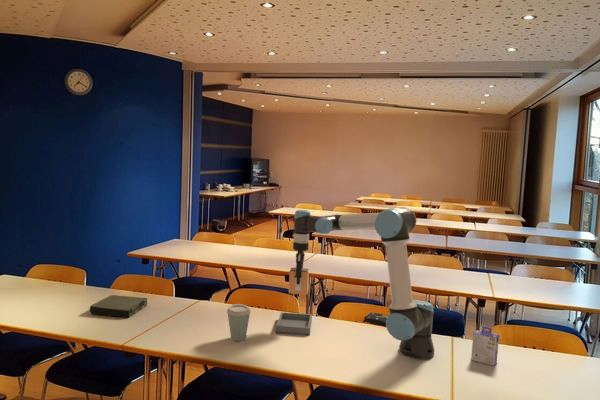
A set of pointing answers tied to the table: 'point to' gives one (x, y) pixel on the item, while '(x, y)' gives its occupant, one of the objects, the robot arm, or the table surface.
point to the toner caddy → (303, 281)
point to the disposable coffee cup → (238, 321)
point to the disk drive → (376, 318)
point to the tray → (294, 323)
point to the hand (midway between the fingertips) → (298, 288)
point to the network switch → (118, 306)
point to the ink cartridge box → (485, 346)
